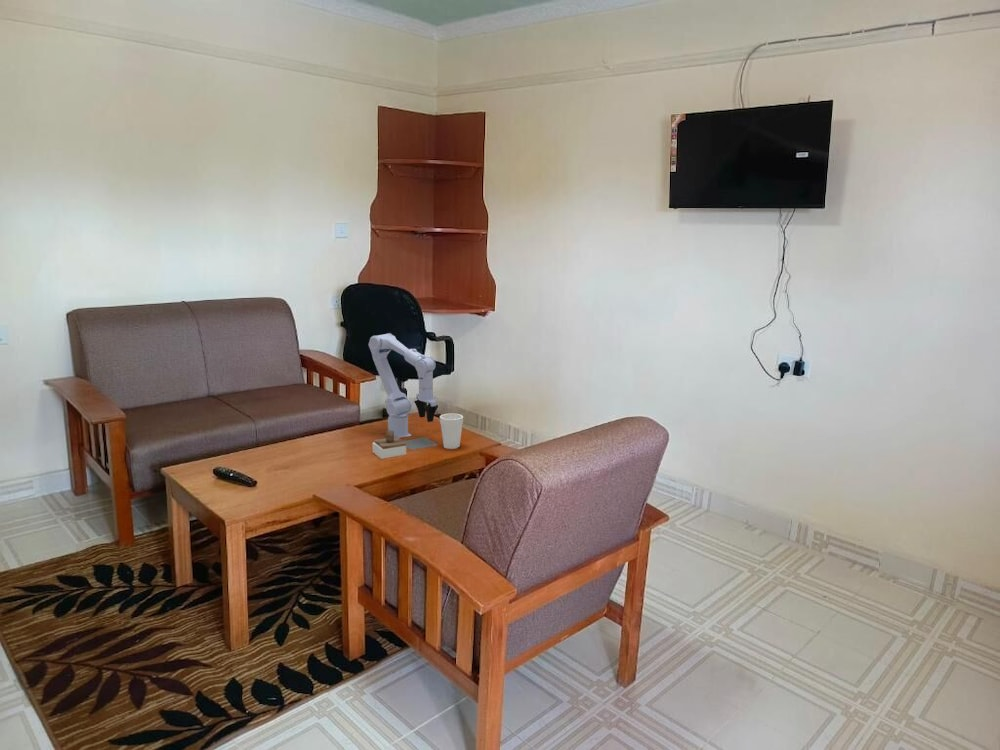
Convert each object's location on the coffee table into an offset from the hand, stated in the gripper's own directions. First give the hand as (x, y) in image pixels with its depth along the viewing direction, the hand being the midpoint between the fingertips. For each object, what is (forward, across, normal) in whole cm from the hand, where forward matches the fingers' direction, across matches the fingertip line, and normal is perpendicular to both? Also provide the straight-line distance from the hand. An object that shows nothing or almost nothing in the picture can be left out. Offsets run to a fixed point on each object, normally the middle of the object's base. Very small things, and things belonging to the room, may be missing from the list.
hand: (426, 419), depth 290 cm
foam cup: (+10, -11, -6) cm, 16 cm away
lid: (+6, -6, +19) cm, 20 cm away
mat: (+10, -1, +4) cm, 11 cm away
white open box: (+10, -6, +19) cm, 22 cm away
